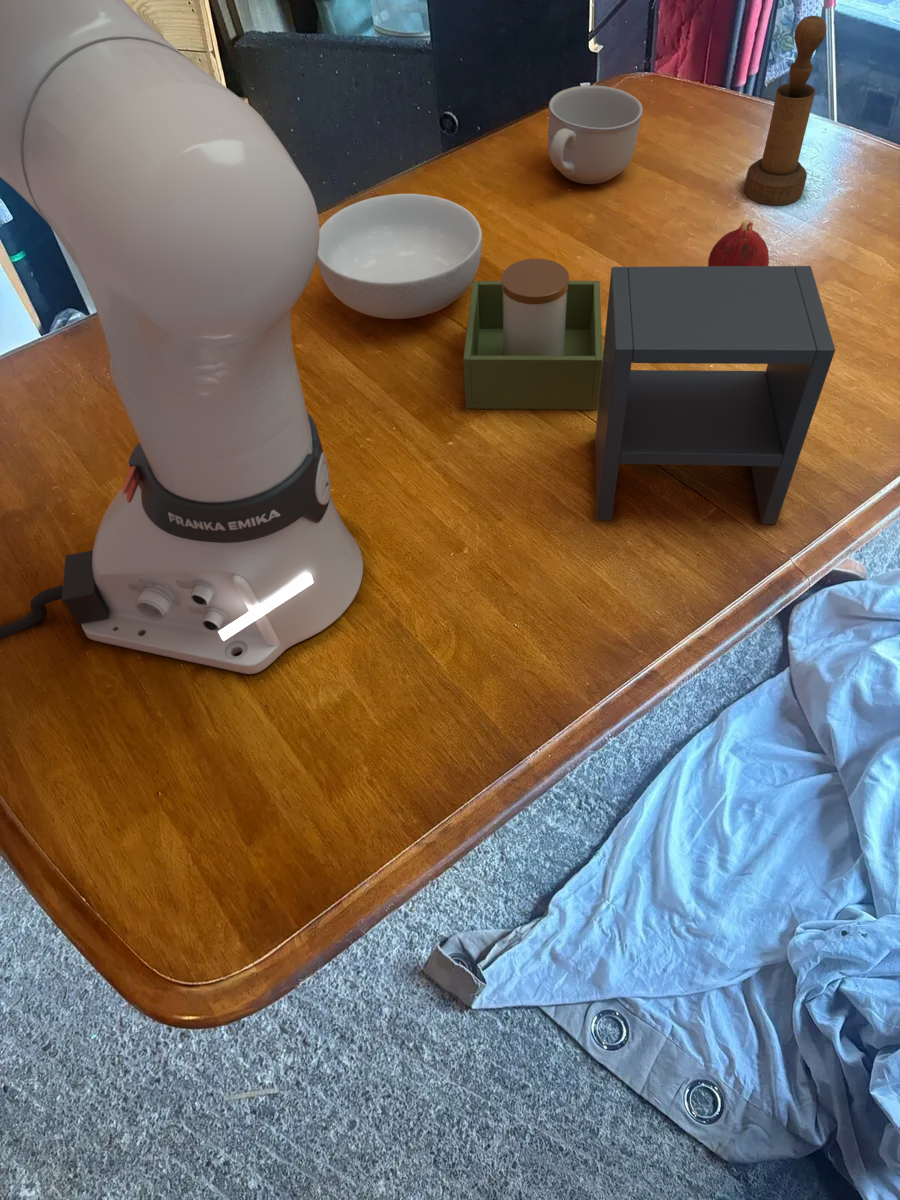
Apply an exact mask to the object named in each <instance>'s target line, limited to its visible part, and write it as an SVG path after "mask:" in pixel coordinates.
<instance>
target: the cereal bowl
mask: <svg viewBox="0 0 900 1200" xmlns="http://www.w3.org/2000/svg"><path fill="white" fill-rule="evenodd" d="M319 231H320V235H319V248H318V254H317V259H316V263H317V267H318V269H319V273H320V275H321V277H322V280H323V281H324V283H325V286H326V287H327V288H328V290H329V291H330V292H331V293H332V294H333V296H334V297H336V298H337V300H338V301H340V302H341V303H342V304H343V305H346V306H347V307H348V308H350V309H352V310H353V311H355V312H358V313H360V314H364V315H366V316H371V317H372V318H379V319H387V320H390V319H391V320H402V319H413V318H418V317H423V316H427V315H429V314H433V313H435V312H438V311H440V310H442V309H444V308H446V307H448V306H449V305H451V304H452V303H454V302H455V301H456V300H457V299H459V298H461V296H462V295H463V294H464V293H465V292H466V291H467V290H468V289H469V288H470V286H472V283H473V281H475V280H474V279H475V277H476V276H477V273H478V271H479V268H480V264H481V259H482V250H483V232H482V228H481V225H480V223H479V221H478V219H477V218H476V217H475V216H474V215H473V214H472V212H470V211H469V210H468V209H466V208H465V207H464V206H462V205H461V204H458V203H456V202H454V201H451V200H450V199H446V198H443V197H440V196H434V195H428V194H420V193H394V194H392V193H391V194H386V195H379V196H374V197H369V198H366V199H363V200H360V201H357V202H354V203H352V204H350V205H348V206H345V207H343V208H342V209H340V210H338V211H337V212H336V213H334V214H333V215H331V216H330V217H329V218H328V219H327V220H326V221H324V223H323V224H322V226H321V227H319Z"/></svg>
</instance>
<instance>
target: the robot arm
mask: <svg viewBox="0 0 900 1200" xmlns="http://www.w3.org/2000/svg"><path fill="white" fill-rule="evenodd" d="M0 179H2V180H3V181H4V182H5V183H7V184H8V186H10V187H11V188H12V189H13V190H14V191H16V193H17V194H18V195H20V197H21V198H23V199H24V200H25V201H26V202H27V203H28V204H29V205H30V206H31V207H32V208H33V210H35V212H37V213H38V214H39V216H41V218H42V219H43V220H44V221H45V222H46V223H47V225H48V226H49V227H50V228H51V229H52V230H53V232H54V233H55V235H56V236H57V238H58V239H59V241H60V242H61V244H62V246H63V247H64V249H65V250H66V252H67V254H68V255H69V257H70V258H71V260H72V262H73V263H74V265H75V267H76V268H77V270H78V272H79V274H80V276H81V278H82V280H83V282H84V284H85V286H86V289H87V291H88V294H89V295H90V297H91V299H92V302H93V305H94V308H95V310H96V314H97V317H98V318H99V322H100V326H101V328H102V331H103V335H104V339H105V342H106V346H107V348H108V349H107V350H108V353H109V357H110V360H109V373H110V378H111V381H112V383H113V385H114V388H115V390H116V393H117V394H118V397H119V399H120V401H121V403H122V406H123V408H124V410H125V412H126V414H127V418H128V419H129V421H130V424H131V426H132V428H133V430H134V433H135V435H136V437H137V440H138V443H137V444H136V445H135V446H134V448H133V450H132V452H131V454H130V457H129V459H128V465H129V470H128V473H127V475H126V477H125V480H124V482H123V486H122V487H121V488H120V489H119V491H118V492H117V493H116V494H115V496H114V497H113V498H112V500H111V501H110V504H109V505H108V507H107V509H106V511H105V513H104V514H103V516H102V519H101V521H100V524H99V526H98V529H97V532H96V535H95V538H94V543H93V547H92V550H88V551H82V552H76V553H72V554H66V555H65V558H64V570H63V581H62V584H61V585H58V586H54V587H51V588H47V589H45V590H43V591H40V592H39V593H38V594H36V595H35V596H33V597H32V599H31V600H30V605H29V607H30V609H31V612H30V613H28V614H27V615H25V616H24V617H22V618H20V619H18V620H15V621H14V622H11V623H8V624H5V625H1V626H0V640H2V639H3V638H6V637H9V636H12V635H15V634H18V633H20V632H23V631H27V630H29V629H31V628H33V627H35V626H37V625H38V624H39V623H41V622H42V621H43V620H44V619H45V618H46V617H47V616H48V615H47V614H48V607H47V606H46V605H48V604H49V603H52V602H54V601H55V602H56V601H59V600H61V601H62V602H63V604H64V605H65V608H67V610H68V612H69V614H70V615H71V617H72V618H73V620H74V621H75V623H76V624H77V625H81V628H82V630H83V632H84V634H85V637H86V638H87V639H89V640H92V641H95V642H99V643H103V644H107V645H112V646H117V647H121V648H125V649H129V650H136V651H140V652H143V653H148V654H153V655H157V656H162V657H166V658H167V657H168V658H171V659H176V660H181V661H185V662H189V663H195V664H198V665H203V666H209V667H212V668H217V669H221V670H225V671H230V672H235V673H239V674H245V675H254V674H258V673H261V672H262V671H264V670H265V669H266V668H268V667H269V666H271V664H272V663H274V662H275V661H277V659H278V658H279V657H280V656H281V655H282V654H283V653H284V652H285V651H287V650H288V649H289V648H291V647H293V646H294V645H296V644H299V643H301V642H303V641H305V640H307V639H310V638H311V637H314V636H315V635H317V634H319V633H321V632H323V631H324V630H325V629H327V628H328V627H329V626H331V625H332V624H333V623H335V622H336V621H337V620H338V619H339V618H340V617H342V615H343V614H344V613H345V612H346V611H347V609H348V608H349V607H350V606H351V604H352V603H353V602H354V600H355V598H356V596H357V594H358V592H359V589H360V587H361V583H362V580H363V576H364V560H363V555H362V551H361V548H360V546H359V545H358V542H357V541H356V539H355V537H354V536H353V535H352V533H351V532H350V531H349V529H348V528H347V526H346V525H345V523H344V522H343V521H344V520H342V518H341V516H340V514H339V512H338V509H337V507H336V505H335V502H334V500H333V497H332V495H331V493H332V485H331V474H330V469H329V464H328V460H327V454H326V452H325V451H324V449H323V445H322V442H321V438H320V435H319V431H318V428H317V425H316V422H315V421H314V418H313V417H312V416H311V414H310V413H309V411H308V410H307V409H308V408H307V405H306V400H305V396H304V392H303V388H302V384H301V379H300V374H299V371H298V365H297V360H296V358H295V353H294V352H295V351H294V347H293V339H292V327H291V318H292V317H291V316H292V315H291V314H292V313H291V312H292V311H291V310H292V309H293V307H295V305H296V304H297V302H298V301H299V299H300V298H301V296H302V295H303V294H304V292H305V291H306V288H307V286H308V284H309V282H310V280H311V278H312V275H313V273H314V270H315V267H316V263H317V254H318V248H319V235H320V231H319V230H320V221H319V214H318V209H317V206H316V202H315V198H314V196H313V193H312V191H311V189H310V187H309V185H308V183H307V181H306V180H305V178H304V177H303V175H302V173H301V171H300V170H299V168H298V166H297V165H296V163H295V162H294V160H293V158H292V157H291V155H290V153H289V152H288V150H287V149H286V148H285V146H284V145H283V143H282V141H280V139H279V137H278V136H277V135H276V133H275V132H274V130H273V129H272V128H271V127H270V124H269V123H267V121H266V120H265V119H264V118H263V117H262V115H261V114H260V113H258V112H257V111H256V110H255V109H254V108H253V107H252V106H251V104H249V103H247V102H246V101H245V100H244V99H242V98H241V97H239V96H238V95H237V94H236V93H234V92H233V91H232V90H230V89H229V88H227V86H225V85H224V84H222V83H221V82H220V81H218V80H217V79H216V78H214V77H213V76H211V75H210V74H209V73H208V72H206V71H205V70H204V69H202V68H201V67H200V66H198V64H196V63H195V62H193V61H192V60H191V59H190V58H188V57H187V56H186V55H184V54H183V53H182V52H181V51H180V50H179V49H177V48H176V47H175V46H173V45H172V44H171V43H170V42H169V41H168V40H167V39H165V38H164V37H163V36H162V35H161V34H160V33H159V32H157V31H156V30H155V29H154V28H153V27H152V26H151V25H150V24H148V23H147V22H146V21H145V20H144V19H143V18H142V16H140V15H139V14H138V13H137V12H136V11H135V10H134V8H132V6H131V5H129V4H128V3H127V1H125V0H0ZM239 653H241V654H239ZM237 654H239V655H237ZM236 655H237V656H236Z"/></svg>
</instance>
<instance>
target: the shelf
mask: <svg viewBox="0 0 900 1200" xmlns="http://www.w3.org/2000/svg"><path fill="white" fill-rule="evenodd" d="M827 320H828V319H827V316H826V314H825V310H824V307H823V303H822V299H821V295H820V292H819V290H818V286H817V283H816V279H815V275H814V272H813V269H812V266H811V265H768V266H708V265H705V266H703V265H701V266H699V265H697V266H695V265H694V266H692V265H691V266H611V269H610V278H609V288H608V299H607V311H606V321H605V333H604V342H603V351H602V370H601V381H600V391H599V402H598V410H597V414H596V415H597V416H596V426H595V438H594V441H595V442H594V445H595V449H594V450H595V479H596V480H595V486H596V487H595V489H596V492H595V493H596V520H597V521H606V522H607V521H612V519H613V513H614V505H615V497H616V489H617V481H618V474H619V473H618V472H619V467H620V465H673V466H679V465H680V466H683V465H684V466H729V467H730V466H735V467H737V466H739V467H751V474H752V479H753V484H754V490H755V496H756V502H757V507H758V513H759V518H760V524H762V525H777V522H778V519H779V517H780V513H781V511H782V508H783V505H784V502H785V499H786V496H787V495H788V494H787V493H788V491H789V487H790V485H791V482H792V479H793V476H794V473H795V469H796V468H797V464H798V461H799V459H800V455H801V452H802V449H803V446H804V444H805V440H806V437H807V435H808V431H809V428H810V425H811V423H812V420H813V417H814V414H815V411H816V408H817V405H818V402H819V399H820V397H821V395H822V394H821V393H822V391H823V388H824V384H825V382H826V379H827V377H828V376H827V375H828V372H829V370H830V367H831V364H832V361H833V357H834V356H835V353H836V348H835V344H834V340H833V337H832V334H831V331H830V326H829V323H828V321H827ZM632 364H701V365H702V364H712V365H713V364H714V365H715V364H721V365H723V364H724V365H725V364H727V365H729V364H730V365H731V364H732V365H756V364H757V365H766V369H765V370H687V369H686V370H685V369H684V370H682V369H681V370H679V369H678V370H677V369H676V370H673V369H671V370H669V369H668V370H667V369H666V370H665V369H632Z"/></svg>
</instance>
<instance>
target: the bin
mask: <svg viewBox="0 0 900 1200" xmlns="http://www.w3.org/2000/svg"><path fill="white" fill-rule="evenodd" d="M601 302H602V301H601V281H600V280H569V287H568V291H567V310H566V328H565V347H564V356H503V290H502V287H501V280H473V281H472V283H471V292H470V300H469V309H468V316H467V317H468V318H467V325H466V332H465V333H466V334H465V343H464V349H463V350H464V351H463V358H462V361H463V376H464V377H463V379H464V395H465V398H464V399H465V409H473V410H475V409H477V410H479V409H480V410H481V409H485V410H486V409H487V410H489V409H490V410H570V411H571V410H573V411H574V410H575V411H576V410H577V411H582V410H583V411H584V410H585V411H598V404H599V394H600V383H601V373H602V362H603V336H602V334H603V333H602V307H601V306H602V305H601Z"/></svg>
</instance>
